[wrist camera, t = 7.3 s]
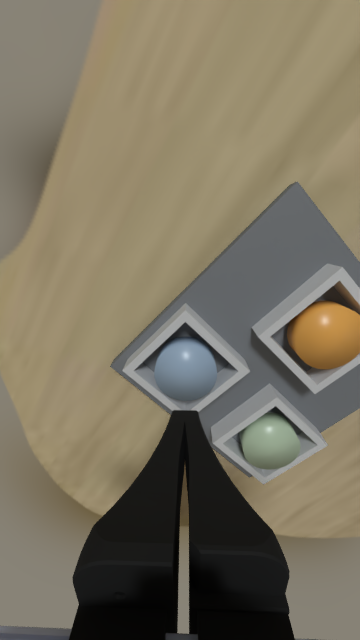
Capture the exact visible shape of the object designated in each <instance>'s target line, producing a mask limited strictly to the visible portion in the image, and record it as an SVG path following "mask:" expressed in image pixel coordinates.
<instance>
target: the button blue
mask: <svg viewBox="0 0 360 640" xmlns="http://www.w3.org/2000/svg"><path fill="white" fill-rule="evenodd" d="M154 376H155V381H156V383H157V385H158V387H159V388H160V389H161V391H162V392H163V393H165V394H166V395H167V396H169V397H171V398H174V399H177V400H182V401H190V400H195V399H198V398H201V397H203V396H205V395H206V394H207V393H209V392H210V391H211V389H212V388H213V387H214V385H215V383H216V379H217V368H216V364H215V359H214V355H213V352H212V351H211V349H210V348H209V346H208V345H207V344H205V343H204V342H203V341H201V340H199V339H196V338H193V337H178V338H175V339H172V340H170V341H169V342H167V343H166V344H165V345H164V346H163V347H162V348H161V350H160V352H159V354H158V357H157V361H156V366H155V370H154Z"/></svg>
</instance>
